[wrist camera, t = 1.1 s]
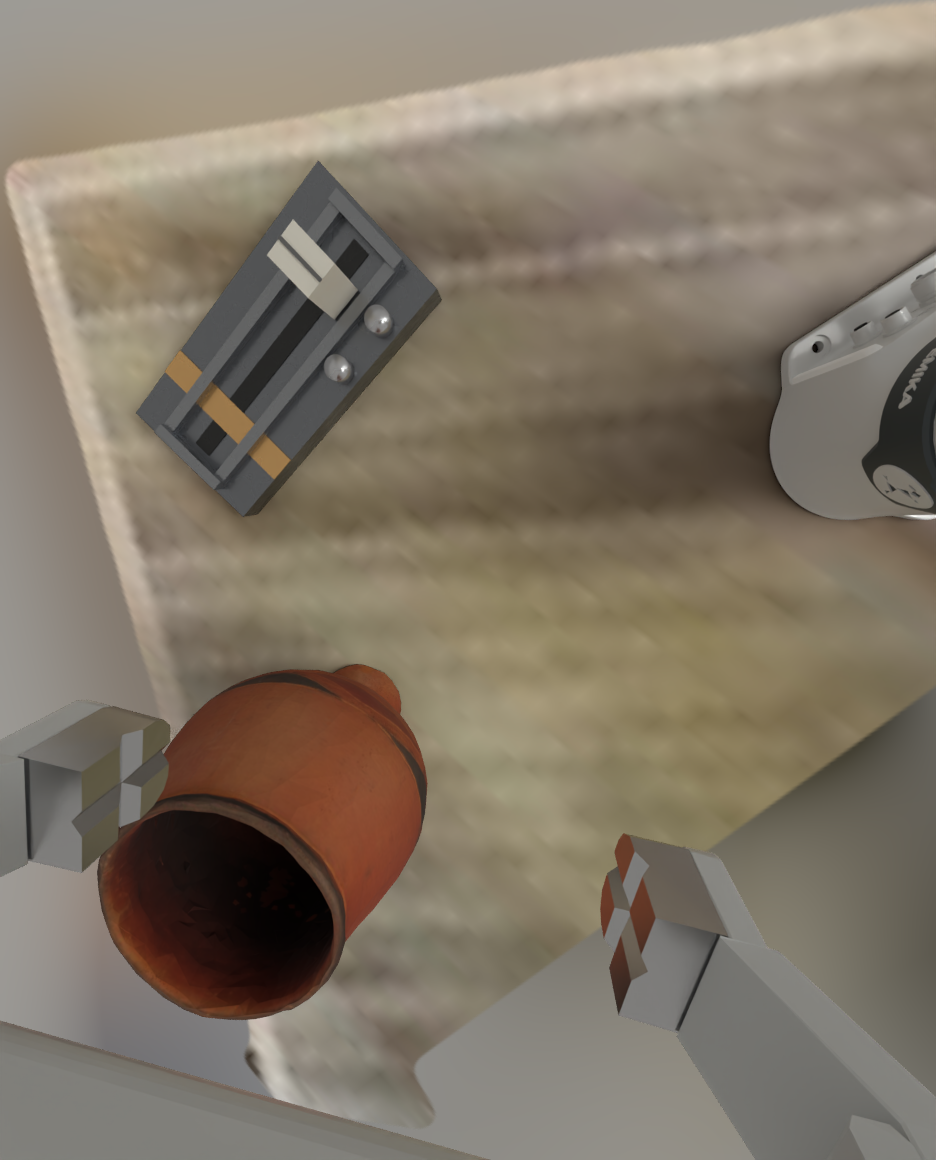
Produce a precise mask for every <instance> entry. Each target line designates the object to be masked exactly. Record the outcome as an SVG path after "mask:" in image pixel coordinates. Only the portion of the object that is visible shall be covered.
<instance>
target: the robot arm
mask: <svg viewBox="0 0 936 1160" xmlns="http://www.w3.org/2000/svg"><path fill="white" fill-rule="evenodd" d="M814 343H815V344H816V345H817V346H818V351H817V353H815V352H813V351H812V345H813V344H814ZM781 381H782V393H781V397H780V401H779V404H778V407H777V409H776V412H775V415H774V419H773V422H772V427H771V433H770V456H771V462H772V466H773V469H774V472H775V475H776V477H777V479H778V481H779V483H780V484H781V486H782V487H783V489H784V490H785V492H786V493H787V494H788V495H789V496H790V497H791V498H792V499H793V500H794V501H795V502H796V503H798V504H799V505H800V506H802V507H803V508H805V509H807V510H808V511H810V512H812V513H815V514H817V515H820V516H823V517H827V518H832V519H840V520H857V519H865V518H871V517H881V516H896V517H901V518H906V519H912V520H930V519H934V518H936V251H935V252H934V253H932V254H931V255H929V256H928V257H926V258H924V259H923V260H921V261H920V262H918V263H917V264H915V265H914V266H912V267H910V268H909V269H907V270H906V271H904V272H903V273H901V274H900V275H898V276H896V277H895V278H893V279H892V280H890V281H889V282H887V283H886V284H884V285H882V286H881V287H879V288H878V289H876V290H875V291H873V292H872V293H870V294H868V295H867V296H865V297H864V298H862V299H861V300H859V301H858V302H856V303H855V304H853V305H851V306H850V307H848V308H847V309H845V310H844V311H842V312H841V313H839V314H837V315H836V316H834V317H833V318H831V319H830V320H828V321H827V322H825V323H823V324H822V325H820V326H819V327H817V328H816V329H814V330H813V331H811V332H809V333H808V334H806V335H805V336H803V337H802V338H800V339H799V340H797V341H795V342H794V343H792V344H791V345H790V346H789V347H788V348H787V349H786V350H785V351H784V353H783V356H782V360H781ZM169 742H170V725H169V724H168V723H167V722H166V721H164V720H162V719H159V718H155V717H151V716H147V715H144V714H140V713H137V712H133V711H129V710H125V709H122V708H118V707H114V706H112V707H111V706H109V705H106V704H102V703H98V702H94V701H90V700H78V701H75V702H73V703H71V704H69V705H67V706H65V707H63V708H61V709H59V710H57V711H55V712H54V713H51V714H50V715H48V716H46V717H44V718H42V719H40V720H38V721H36V722H34V723H32V724H30V725H28V726H26V727H25V728H23V729H21V730H19V731H17V732H15V733H13V734H11V735H9V736H7V737H5V738H3V739H1V740H0V877H1V876H4V875H5V874H7V873H10V872H12V871H14V870H16V869H18V868H20V867H22V866H25V865H27V863H28V861H32V862H36V863H40V864H45V865H50V866H54V867H58V868H62V869H67V870H71V871H75V872H80V873H82V872H83V871H84V870H86V869H87V868H88V867H89V866H90V865H91V864H92V863H93V862H94V861H95V860H96V859H97V858H99V857H100V856H101V855H102V854H103V853H104V852H105V851H106V850H107V849H108V848H109V847H111V846H112V845H113V844H114V843H115V842H116V841H117V840H118V837H119V831H120V827H122V826H124V825H127V824H129V823H132V822H134V821H137V820H139V819H141V818H142V817H143V816H144V815H145V814H146V813H147V812H148V811H149V810H150V809H151V808H152V807H153V806H154V804H155V803H156V801H157V800H158V798H159V796H160V795H161V793H162V792H163V790H164V787H165V784H166V781H167V778H168V770H169V763H168V761H167V760H166V758H165V756H164V754H163V753H162V751H161V750H162V749H163V748H164V747H165V746H166V745H167V744H168V743H169ZM615 856H616V860H617V864H618V867H616V868H615V869H613V870H612V871H610V872H609V873H607V876H606V879H605V883H604V886H603V889H602V898H601V908H600V909H601V925H602V930H603V936H604V939H605V941H606V942H607V943H608V945H609V946H610V947H611V949H612V950H613V951H614V956H613V959H612V961H611V964H610V974H611V979H612V984H613V989H614V994H615V999H616V1004H617V1010H618V1015H619V1016H622V1017H626V1018H629V1019H632V1020H636V1021H639V1022H642V1023H646V1024H649V1025H653V1026H656V1027H659V1028H662V1029H666V1030H669V1031H672V1032H676V1033H678V1035H677V1037H678V1039H679V1041H680V1042H681V1044H682V1045H683V1047H684V1049H685V1050H686V1051H687V1053H688V1055H689V1056H690V1058H691V1059H692V1061H693V1063H694V1064H695V1066H696V1067H697V1069H698V1070H699V1072H700V1074H701V1075H702V1077H703V1078H704V1080H705V1081H706V1083H707V1085H708V1086H709V1088H710V1089H711V1091H712V1092H713V1094H714V1095H715V1097H716V1099H717V1100H718V1102H719V1103H720V1105H721V1106H722V1108H723V1110H724V1111H725V1113H726V1114H727V1116H728V1117H729V1119H730V1120H731V1122H732V1124H733V1125H734V1126H735V1128H736V1130H737V1131H738V1133H739V1135H740V1136H741V1138H742V1139H743V1141H744V1143H745V1144H746V1146H747V1147H748V1149H749V1150H750V1152H751V1153H752V1155H753V1157H754V1158H755V1160H936V1097H935V1096H934V1095H933V1094H932V1093H930V1092H929V1090H927V1089H926V1088H925V1087H924V1086H923V1085H922V1084H921V1083H920V1082H919V1081H918V1080H917V1079H916V1078H914V1077H913V1076H912V1075H911V1074H910V1073H909V1072H908V1071H907V1070H906V1069H905V1068H904V1067H903V1066H901V1064H899V1063H898V1062H897V1061H896V1060H895V1059H894V1058H893V1057H892V1056H891V1055H890V1054H889V1053H888V1052H887V1051H886V1050H885V1049H883V1048H882V1047H881V1046H880V1045H879V1044H878V1043H877V1042H876V1041H875V1040H874V1039H873V1038H872V1037H871V1036H869V1035H868V1034H867V1033H866V1032H865V1031H864V1030H863V1029H862V1028H861V1027H860V1026H859V1025H858V1024H857V1023H855V1022H854V1021H853V1020H852V1019H851V1018H850V1017H849V1016H848V1015H847V1014H846V1013H845V1012H844V1011H843V1010H842V1009H840V1008H839V1007H838V1006H837V1005H836V1004H835V1003H834V1002H833V1001H832V1000H831V999H830V998H829V997H827V996H826V995H825V994H824V993H823V992H822V991H821V990H820V989H819V988H818V987H817V986H816V985H815V984H813V983H812V981H810V980H809V979H808V978H807V977H806V976H805V975H804V974H803V973H802V972H801V971H800V970H799V969H798V968H796V967H795V966H794V965H793V964H792V963H791V962H790V961H789V960H788V959H787V958H786V957H785V956H784V955H783V954H781V953H780V952H779V951H777V950H774V949H770V948H768V947H767V945H766V943H765V941H764V940H763V938H762V936H761V934H760V932H759V930H758V928H757V926H756V925H755V923H754V921H753V919H752V917H751V915H750V913H749V911H748V910H747V908H746V906H745V904H744V902H743V900H742V898H741V896H740V895H739V893H738V891H737V889H736V887H735V885H734V883H733V881H732V880H731V878H730V876H729V874H728V872H727V870H726V868H725V866H724V865H723V863H722V861H721V859H720V858H719V857H718V856H717V855H715V854H714V853H711V852H706V851H701V850H697V849H692V848H688V847H679V846H675V845H670V844H666V843H662V842H658V841H654V840H650V839H645V838H641V837H637V836H633V835H629V834H625V833H624V834H623V835H622V836H621V838H620V839H619V841H618V844H617V846H616V849H615ZM0 1160H489V1159H485V1158H481V1157H478V1156H474V1155H470V1154H467V1153H464V1152H460V1151H457V1150H453V1149H450V1148H446V1147H443V1146H439V1145H436V1144H432V1143H429V1142H425V1141H422V1140H418V1139H414V1138H411V1137H407V1136H404V1135H400V1134H397V1133H393V1132H390V1131H386V1130H383V1129H379V1128H376V1127H372V1126H369V1125H365V1124H361V1123H358V1122H355V1121H351V1120H348V1119H344V1118H341V1117H337V1116H334V1115H330V1114H326V1113H323V1112H319V1111H316V1110H312V1109H309V1108H305V1107H302V1106H298V1105H295V1104H291V1103H288V1102H284V1101H281V1100H277V1099H274V1098H270V1097H267V1096H263V1095H260V1094H256V1093H253V1092H249V1091H246V1090H242V1089H238V1088H234V1087H231V1086H228V1085H224V1084H221V1083H217V1082H214V1081H210V1080H207V1079H203V1078H200V1077H196V1076H193V1075H189V1074H186V1073H182V1072H179V1071H175V1070H172V1069H168V1068H165V1067H161V1066H157V1065H154V1064H150V1063H147V1062H144V1061H140V1060H136V1059H133V1058H129V1057H126V1056H122V1055H119V1054H115V1053H112V1052H108V1051H105V1050H101V1049H98V1048H94V1047H91V1046H87V1045H83V1044H80V1043H76V1042H73V1041H70V1040H66V1039H63V1038H59V1037H56V1036H52V1035H49V1034H45V1033H42V1032H38V1031H35V1030H31V1029H28V1028H24V1027H21V1026H17V1025H14V1024H10V1023H7V1022H3V1021H0Z"/></svg>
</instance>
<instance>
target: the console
mask: <svg viewBox="0 0 936 1160" xmlns="http://www.w3.org/2000/svg"><path fill="white" fill-rule="evenodd" d="M292 220H294V221H295V222H296V223H297V224H298V225H299V226H300V227H301V228H302V229H303V230H304V231H305V233H306V234H307V235H308V236H309V237H310V238H311V239H312V240H313V241H314V242H315V243H316V244H317V245H318V246H319V247H320V248H321V249H322V251H323V252H324V253H325V254H326V255H327V256H328V257H329V258H330V259H331V260H332V261H333V262H334V263H335V264H336V266H337V267H338V268H339V269H340V270H341V271H342V272H343V273H344V275H345V276H346V277H347V278H348V279H349V280H350V281H351V283H352V284H353V285H354V286H355V287H356V288H357V289H358V291H357V292H356V293H355V295H354V296H353V297H352V298H351V300H350V301H349V302H348V303H347V305H346V306H345V307H344V308H343V310H342V311H341V312H340V313H339V315H338V316H337V317H336V318H335V320H334V319H333V318H332V317H330V316H329V315H328V314H327V313H326V312H324V311H323V310H322V309H321V308H319V307H318V306H317V305H316V304H315V303H313V302H312V301H311V300H310V299H309V298H308V297H307V296H306V295H305V294H304V293H303V292H302V291H301V290H300V289H299V288H298V287H297V286H296V285H295V284H294V283H293V282H292V281H291V280H290V279H289V278H288V277H287V276H286V275H285V274H284V272H283V271H282V270H281V269H280V268H279V267H278V266H277V265H276V264H275V263H274V262H273V261H272V260H271V259H270V258H269V257H268V256H267V254H268V253H269V251H270V250H271V249H272V247H273V246H274V245H275V243H276V242H277V240H278V237H279V236H280V235H282V234H283V232H284V231H285V230H286V228H287V227H288V225H289V224H290V223H291V221H292ZM441 300H442V299H441V297H440V295H439V293H438V290H437V289H436V287H435V286H434V285H433V284H432V283H431V282H430V281H429V280H428V279H427V278H426V277H425V276H424V274H423V273H422V272H421V271H420V270H419V269H418V268H417V267H416V266H415V265H414V264H413V263H412V261H411V260H410V259H409V258H408V257H407V256H406V255H405V254H404V253H403V252H402V251H401V250H400V249H399V247H398V246H397V245H396V244H395V243H394V242H393V241H392V240H391V239H390V238H389V237H388V236H387V234H386V233H385V232H384V231H383V230H382V229H381V228H380V227H379V226H378V225H377V224H376V223H375V221H374V220H373V219H372V218H371V217H370V216H369V215H368V214H367V213H366V212H365V211H364V210H363V209H362V207H361V206H360V205H359V204H358V203H357V202H356V201H355V200H354V199H353V198H352V197H351V196H350V194H349V193H348V192H347V191H346V190H345V189H344V188H343V187H342V186H341V185H340V184H339V183H338V181H337V180H336V179H335V178H334V177H333V176H332V175H331V174H330V173H329V172H328V171H327V170H326V168H325V167H324V166H323V165H322V164H321V163H320V162H319V161H318V162H317V163H316V164H315V166H314V167H313V168H312V170H311V171H310V173H309V174H308V175H307V177H306V178H305V180H304V181H303V182H302V184H301V185H300V186H299V188H298V189H297V191H296V192H295V193H294V195H293V196H292V198H291V199H290V200H289V202H288V203H287V204H286V206H285V207H284V209H283V210H282V211H281V213H280V214H279V216H278V217H277V218H276V220H275V221H274V222H273V224H272V225H271V227H270V228H269V229H268V231H267V232H266V234H265V235H264V236H263V238H262V239H261V240H260V242H259V243H258V245H257V246H256V247H255V249H254V250H253V252H252V253H251V254H250V256H249V257H248V258H247V260H246V261H245V263H244V264H243V265H242V267H241V268H240V270H239V271H238V272H237V274H236V275H235V276H234V278H233V279H232V281H231V282H230V283H229V285H228V286H227V287H226V289H225V290H224V292H223V293H222V294H221V296H220V297H219V299H218V300H217V301H216V303H215V304H214V305H213V307H212V308H211V310H210V311H209V312H208V314H207V315H206V317H205V318H204V319H203V321H202V322H201V323H200V325H199V326H198V328H197V329H196V330H195V332H194V333H193V335H192V336H191V337H190V339H189V340H188V341H187V343H186V344H185V346H184V347H183V348H182V350H180V351H179V352H178V354H177V355H176V356H175V358H174V359H173V361H172V362H171V363H170V365H169V366H168V367H167V369H166V370H165V373H164V375H163V376H162V377H161V379H160V380H159V382H158V383H157V384H156V386H155V387H154V389H153V390H152V391H151V393H150V394H149V395H148V397H147V398H146V400H145V401H144V402H143V404H142V405H141V407H140V408H139V409H138V411H137V412H136V414H138V415H139V416H140V417H141V418H142V419H143V420H144V421H145V422H146V423H147V424H148V425H149V426H150V427H151V428H152V429H153V430H154V431H155V433H156V434H157V435H158V436H159V437H160V438H161V439H162V440H163V441H164V442H165V443H166V444H167V445H168V446H169V447H170V448H171V449H172V450H173V451H174V452H175V453H176V454H177V455H178V456H179V457H180V458H181V459H182V460H183V461H184V462H185V463H187V464H188V465H189V466H190V467H191V468H192V469H193V470H194V471H195V472H196V473H197V474H198V475H199V476H200V477H201V478H202V479H203V480H204V481H205V482H206V483H207V484H208V485H209V486H210V487H211V488H212V489H213V490H216V491H217V492H218V493H219V494H220V495H221V496H222V497H223V498H224V499H225V500H226V501H227V502H228V503H229V504H230V505H231V506H232V507H234V508H235V509H236V510H237V511H238V512H239V513H240V514H241V515H242V516H243V517H244V516H250V515H256V514H258V513H259V512H260V511H261V510H262V508H263V507H264V506H265V505H266V504H267V503H268V502H269V500H270V499H271V498H272V497H273V496H274V495H275V493H276V492H277V491H278V490H279V489H280V488H281V486H282V485H283V484H284V483H285V482H286V481H287V479H288V478H289V477H290V476H291V475H292V474H293V472H294V471H295V470H296V469H297V468H298V467H299V465H300V464H301V463H302V462H303V461H304V460H305V458H306V457H307V456H308V455H309V454H310V453H311V451H312V450H313V449H314V448H315V447H316V446H317V444H318V443H319V442H320V441H321V440H322V439H323V437H324V436H325V435H326V434H327V433H328V432H329V430H330V429H331V428H332V427H333V426H334V425H335V424H336V422H337V421H338V420H339V419H340V418H341V417H342V415H343V414H344V413H345V412H346V411H347V410H348V408H349V407H350V406H351V405H352V404H353V403H354V401H355V400H356V399H357V398H358V397H359V396H360V394H361V393H362V392H363V391H364V390H365V389H366V387H367V386H368V385H369V384H370V383H371V382H372V380H373V379H374V378H375V377H376V376H377V375H378V373H379V372H380V371H381V370H382V369H383V368H384V366H385V365H386V364H387V363H388V362H389V361H390V359H391V358H392V357H393V356H394V355H395V354H396V353H397V351H398V350H399V349H400V348H401V347H402V346H403V344H404V343H405V342H406V341H407V340H408V339H409V337H410V336H411V335H412V334H413V333H414V332H415V330H416V329H417V328H418V327H419V326H420V325H421V323H422V322H423V321H424V320H425V319H426V318H427V316H428V315H429V314H430V313H431V312H432V311H433V309H434V308H435V307H436V306H437V305H438V304H439V302H440V301H441Z"/></svg>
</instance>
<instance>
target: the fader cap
mask: <svg viewBox="0 0 936 1160" xmlns="http://www.w3.org/2000/svg"><path fill="white" fill-rule="evenodd" d="M267 256H268V257H269V258H270V259H271V260H272V261H273V262H274V263H275V264H276V265H277V266H278V267H279V268H280V269H281V270H282V271H283V272H284V274H285V275H286V276H287V277H288V278H289V279H290V280H291V281H292V282H293V283H294V284H295V285H296V286H297V287H298V288H299V289H300V290H301V291H302V292H303V293H304V294H305V295H306V296H307V297H308V298H309V299H310V300H311V301H312V302H313V303H315V304H316V305H317V306H318V307H319V308H321V309H322V310H323V311H324V312H326V313H327V314H328V315H329V316H330V317H332V318H333V319H334V320H335V318H336V317H337V316H338V315H339V313H340V312H341V311H342V310H343V308H344V307H345V306H346V305H347V303H348V302H349V301H350V300H351V298H352V297H353V296H354V295H355V293H356V292H357V291H358V289H357V288H356V287H355V286H354V285H353V284H352V283H351V281H350V280H349V279H348V278H347V277H346V276H345V275H344V273H343V272H342V271H341V270H340V269H339V268H338V267H337V266H336V264H335V263H334V262H333V261H332V260H331V259H330V258H329V257H328V256H327V255H326V254H325V253H324V252H323V251H322V249H321V248H320V247H319V246H318V245H317V244H316V243H315V242H314V241H313V240H312V239H311V238H310V237H309V236H308V235H307V234H306V233H305V231H304V230H303V229H302V228H301V227H300V226H299V225H298V224H297V223H296V222H295V221H294V220H292V221H291V223H290V224H289V225H288V227H287V228H286V230H285V231H284V232H283V234H282V235H280V236H279V237H278V240H277V242H276V243H275V245H274V246H273V247H272V249H271V250H270V251H269V253H268V254H267Z"/></svg>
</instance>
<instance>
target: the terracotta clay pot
mask: <svg viewBox="0 0 936 1160" xmlns="http://www.w3.org/2000/svg"><path fill="white" fill-rule="evenodd" d="M400 712H401V700H400V696H399V691H398V690H397V688H396V687H395V685H394V683H393V682H392V680H391V679H390V678H389V677H388V676H387V675H386V674H385V673H383V672H381V671H378V670H376V669H373V668H371V667H368V666H365V665H358V664H356V665H351V666H347V667H345V668H343V669H340V670H338V671H336V672H334V673H329V672H324V671H320V670H283V671H276V672H270V673H266V674H262V675H259V676H256V677H253V678H250V679H247V680H244V681H242V682H240V683H238V684H236V685H233V686H231V687H230V688H228V689H226V690H225V691H223V692H221V693H220V694H218V695H217V696H215V697H214V698H213V699H211V700H210V701H208V702H207V703H206V704H205V705H204V706H203V707H202V708H201V709H200V710H199V711H198V712H197V713H196V714H195V715H194V716H193V717H192V718H191V719H190V720H189V721H188V722H187V723H186V724H185V726H184V727H183V728H182V729H181V731H180V732H179V733H178V734H177V735H176V737H175V738H174V739H173V740H172V742H171V743H170V745H169V746H168V748H167V750H166V751H165V753H164V756H165V758H166V760H167V761H168V763H169V770H168V778H167V781H166V784H165V787H164V790H163V792H162V793H161V795H160V796H159V798H158V800H157V801H156V803H155V804H154V806H153V807H152V808H151V809H150V810H149V811H148V812H147V813H146V814H145V815H144V816H143V817H142V818H141V819H139V820H137V821H134V822H132V823H129V824H127V825H124V826H122V827H121V828H120V831H119V837H118V840H117V841H116V842H115V843H114V844H113V845H112V846H111V847H109V848H108V849H107V850H106V851H105V852H104V853H103V854H102V855H101V857H100V859H99V864H98V871H97V875H98V888H99V895H100V902H101V908H102V912H103V915H104V919H105V922H106V925H107V927H108V930H109V933H110V935H111V938H112V940H113V942H114V944H115V945H116V947H117V948H118V950H119V951H120V953H121V954H122V955H123V957H124V958H125V959H126V960H127V962H128V963H129V964H130V965H131V967H132V968H133V970H134V971H135V972H136V974H138V975H139V976H140V977H141V978H142V979H143V980H144V981H146V982H147V983H148V984H149V985H150V986H151V987H152V988H153V989H155V990H156V991H157V992H158V993H159V994H160V995H162V996H163V997H164V998H166V999H167V1000H169V1001H171V1002H172V1003H174V1004H176V1005H178V1006H179V1007H181V1008H182V1009H184V1010H186V1011H189V1012H192V1013H194V1014H197V1015H199V1016H202V1017H208V1018H217V1019H229V1020H231V1019H232V1020H248V1019H257V1018H262V1017H267V1016H271V1015H274V1014H276V1013H279V1012H281V1011H286V1010H292V1009H293V1008H295V1007H297V1006H299V1005H300V1004H302V1003H303V1002H305V1001H306V1000H308V999H309V998H310V997H312V996H313V995H314V994H315V993H316V992H317V991H318V990H319V989H320V988H321V987H322V986H323V985H324V984H325V983H326V982H327V981H328V980H329V978H330V976H331V975H332V973H333V971H334V970H335V968H336V966H337V965H338V963H339V960H340V957H341V954H342V951H343V947H344V944H345V941H346V940H347V939H348V938H349V936H350V935H351V934H352V933H353V931H354V930H355V929H356V928H357V926H358V925H359V924H360V923H361V922H362V921H363V920H364V919H365V918H366V917H367V916H368V914H369V913H370V912H371V911H372V910H373V909H374V908H375V906H376V905H377V904H378V903H379V901H380V900H381V899H382V897H383V896H384V895H385V894H386V892H387V891H388V890H389V889H390V887H391V886H392V885H393V883H394V882H395V881H396V880H397V878H398V877H399V875H400V873H401V872H402V870H403V868H404V866H405V865H406V863H407V861H408V859H409V858H410V856H411V854H412V852H413V851H414V848H415V846H416V844H417V842H418V839H419V836H420V833H421V830H422V824H423V819H424V815H425V808H426V795H427V778H426V771H425V766H424V762H423V758H422V754H421V751H420V748H419V746H418V743H417V741H416V738H415V736H414V734H413V732H412V731H411V729H410V728H409V726H408V725H407V723H406V722H405V720H404V719H403V718H402V716H401V715H400Z"/></svg>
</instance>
